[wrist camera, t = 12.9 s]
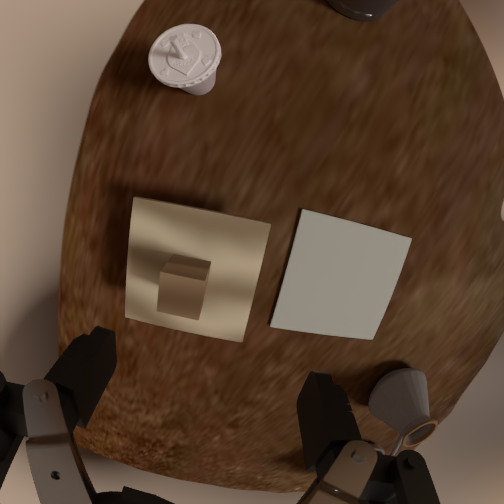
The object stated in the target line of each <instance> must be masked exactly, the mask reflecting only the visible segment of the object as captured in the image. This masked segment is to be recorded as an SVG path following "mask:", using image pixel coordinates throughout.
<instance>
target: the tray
mask: <svg viewBox="0 0 504 504" xmlns="http://www.w3.org/2000/svg"><path fill="white" fill-rule="evenodd" d="M411 240H412V239H411V238H409V237H406V236H402V235H399V234H395V233H392V232H389V231H385V230H382V229H378V228H374V227H371V226H367V225H364V224H360V223H356V222H352V221H349V220H345V219H341V218H337V217H333V216H329V215H326V214H322V213H318V212H313V211H309V210H305V209H302V211H301V215H300V219H299V222H298V226H297V230H296V234H295V238H294V242H293V245H292V249H291V253H290V256H289V260H288V264H287V267H286V271H285V275H284V278H283V282H282V285H281V289H280V293H279V296H278V300H277V303H276V306H275V310H274V313H273V317H272V320H271V324H270V327H275V328H281V329H288V330H295V331H302V332H309V333H317V334H325V335H333V336H341V337H351V338H360V339H371V340H373V338H374V335H375V333H376V331H377V329H378V327H379V324H380V322H381V320H382V318H383V315H384V313H385V310H386V308H387V306H388V303H389V301H390V298H391V296H392V293H393V291H394V288H395V286H396V283H397V280H398V278H399V275H400V272H401V269H402V267H403V264H404V261H405V258H406V255H407V252H408V249H409V246H410V243H411Z"/></svg>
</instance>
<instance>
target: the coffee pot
mask: <svg viewBox="0 0 504 504" xmlns="http://www.w3.org/2000/svg"><path fill="white" fill-rule="evenodd" d="M368 405H369V410H370V412H371V413H372V414H373V415H374V416H376V417H377V418H378V419H380V420H381V421H383V422H384V423H386V424H387V425H389V426H390V427H392V428H393V429H395V430H396V431H398V432H399V433H400V436H399V438H398V440H397V442H396V444H395V446H394V448H393V450H392V452H391V454H390V455H389V456H394V455H395V453H396V451H397V450H398V448H399V446H400V444H401V442H402V445H403V446H405V447H411V446H414V445H417V444H419V443H421V442H423V441H424V440H426V439H427V438H428V437H429V436H430V435H432V434H433V432H434V431H435V430H436V428H437V426H438V422H437V421H436V420H432V419H431V418H430V417H429V403H428V391H427V381H426V377H425V374H423V373H422V372H421V371H420V370H417V369H414V368H403V369H397V370H394V371H392V372H389V373H388V374H386V375H385V376H384V377H382V378H381V379H380V380H379V381H378V383H377V384H376V386H375V387H374V389H373V391H372V393H371V394H370V398H369V403H368Z"/></svg>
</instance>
